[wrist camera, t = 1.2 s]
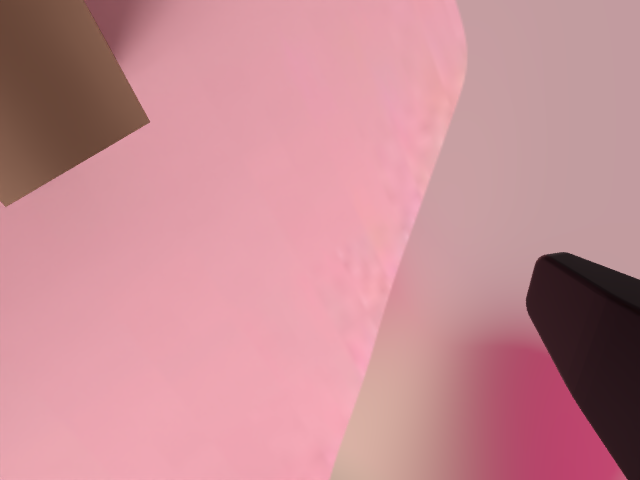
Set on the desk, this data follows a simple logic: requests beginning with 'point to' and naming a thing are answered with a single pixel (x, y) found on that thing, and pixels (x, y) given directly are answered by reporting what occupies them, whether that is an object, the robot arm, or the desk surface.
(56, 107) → the walnut block
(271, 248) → the desk surface
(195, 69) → the desk surface
